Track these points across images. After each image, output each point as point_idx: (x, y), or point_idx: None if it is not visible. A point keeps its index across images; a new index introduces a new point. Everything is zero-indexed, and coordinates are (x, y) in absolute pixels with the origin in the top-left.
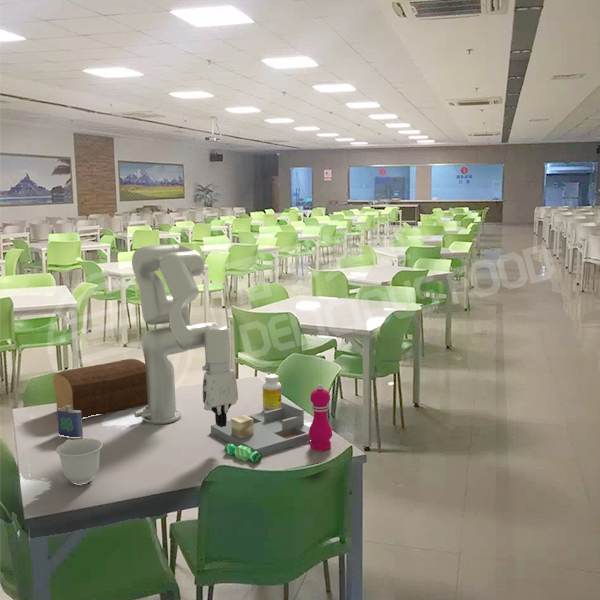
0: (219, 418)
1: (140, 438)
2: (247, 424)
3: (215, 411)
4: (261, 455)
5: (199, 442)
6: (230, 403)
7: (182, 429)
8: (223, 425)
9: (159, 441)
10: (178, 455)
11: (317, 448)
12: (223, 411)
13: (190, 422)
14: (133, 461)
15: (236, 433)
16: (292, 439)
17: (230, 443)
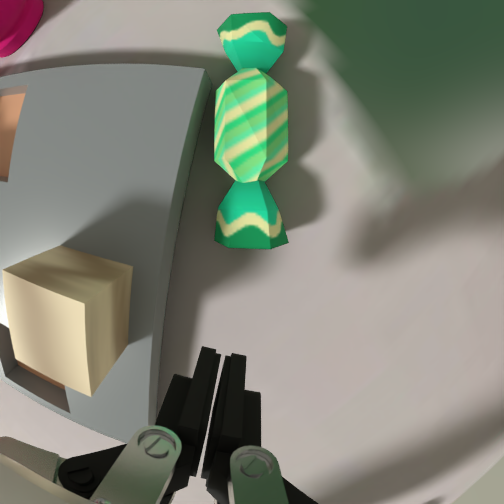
0: (243, 423)
1: (327, 500)
2: (49, 274)
3: (292, 494)
4: (220, 28)
5: None
6: (57, 480)
7: None
8: (225, 358)
9: (320, 476)
10: (391, 376)
11: (40, 2)
12: (182, 460)
13: None
14: (462, 410)
15: (123, 308)
16: (20, 74)
17: (240, 240)
